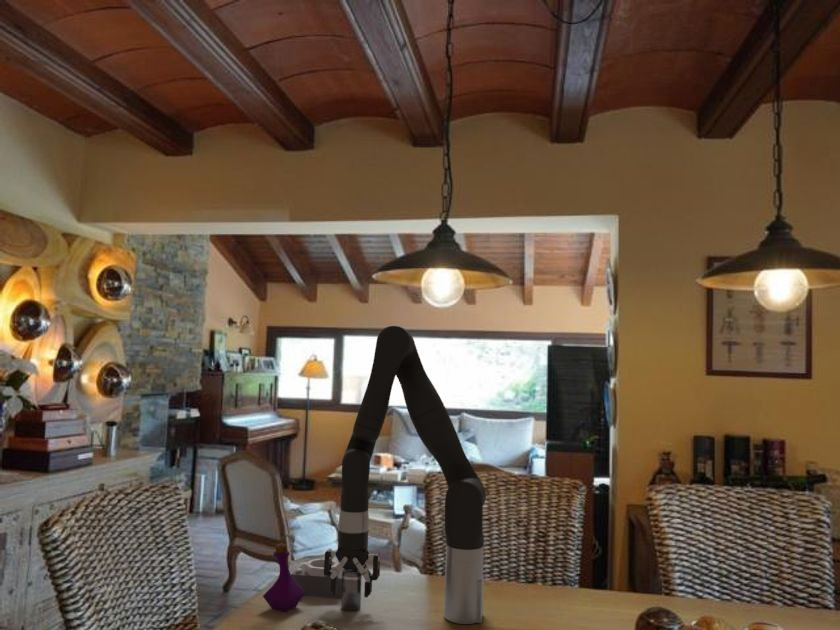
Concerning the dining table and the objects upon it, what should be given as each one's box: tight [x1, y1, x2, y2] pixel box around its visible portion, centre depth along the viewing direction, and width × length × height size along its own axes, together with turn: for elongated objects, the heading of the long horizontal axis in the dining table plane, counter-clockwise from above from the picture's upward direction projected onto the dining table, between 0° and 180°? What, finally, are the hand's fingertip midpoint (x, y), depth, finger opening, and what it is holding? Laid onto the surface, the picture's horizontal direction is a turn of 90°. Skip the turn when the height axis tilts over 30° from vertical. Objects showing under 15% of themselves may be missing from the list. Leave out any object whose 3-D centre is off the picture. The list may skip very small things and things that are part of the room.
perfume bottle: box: [262, 533, 306, 613], centre depth 158 cm, size 8×8×18 cm
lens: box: [340, 569, 363, 613], centre depth 159 cm, size 5×5×9 cm
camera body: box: [290, 557, 344, 599], centre depth 170 cm, size 14×9×7 cm, turn 80°
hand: (350, 594), depth 159 cm, fingers open, 7 cm apart
